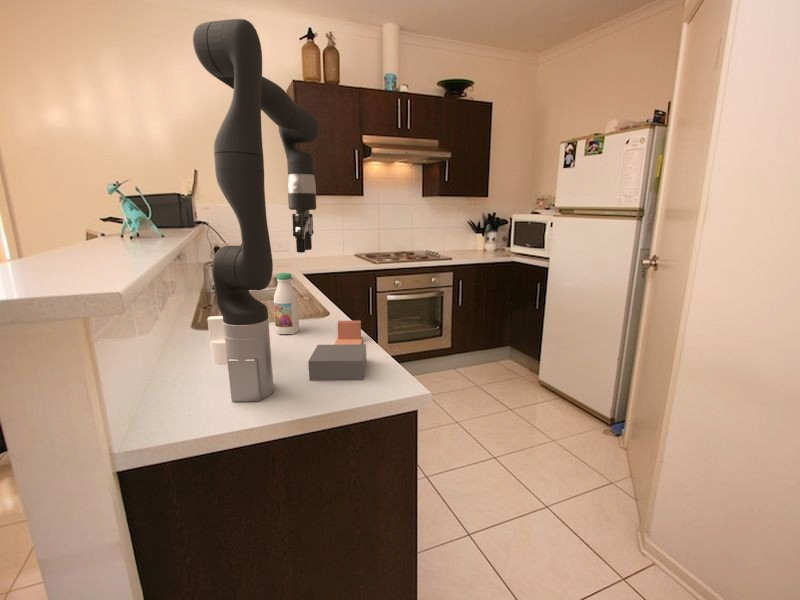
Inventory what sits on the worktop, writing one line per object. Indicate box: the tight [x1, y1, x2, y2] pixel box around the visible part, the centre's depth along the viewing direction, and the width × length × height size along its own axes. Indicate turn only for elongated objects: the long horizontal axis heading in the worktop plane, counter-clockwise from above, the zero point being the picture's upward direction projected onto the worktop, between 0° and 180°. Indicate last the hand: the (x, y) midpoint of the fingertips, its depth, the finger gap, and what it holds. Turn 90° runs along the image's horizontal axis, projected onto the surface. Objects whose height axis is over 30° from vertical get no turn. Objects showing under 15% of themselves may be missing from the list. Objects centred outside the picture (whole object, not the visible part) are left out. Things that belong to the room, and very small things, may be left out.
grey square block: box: [307, 344, 367, 381], centre depth 105 cm, size 13×13×5 cm
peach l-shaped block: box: [333, 320, 364, 345], centre depth 119 cm, size 20×8×6 cm, turn 1°
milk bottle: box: [273, 272, 300, 335], centre depth 135 cm, size 8×8×20 cm
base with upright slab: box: [207, 315, 228, 365], centre depth 112 cm, size 9×9×12 cm
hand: (304, 251), depth 116 cm, fingers open, 8 cm apart
